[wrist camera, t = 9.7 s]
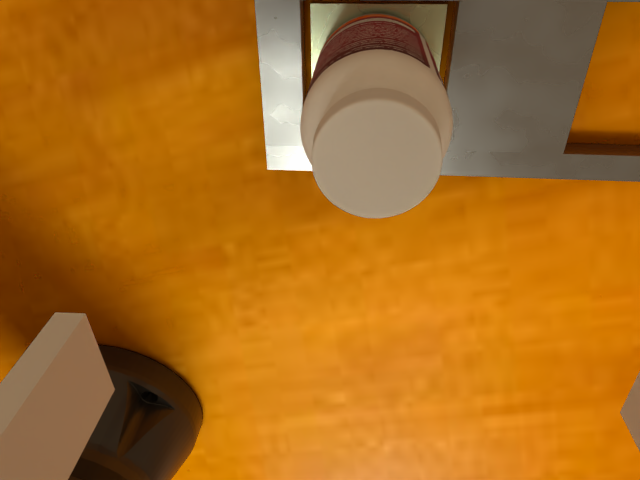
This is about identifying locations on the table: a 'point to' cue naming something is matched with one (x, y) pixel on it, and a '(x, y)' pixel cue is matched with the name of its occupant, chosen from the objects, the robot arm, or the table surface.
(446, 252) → the table surface
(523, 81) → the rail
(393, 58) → the pill bottle
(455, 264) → the table surface
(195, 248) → the table surface
